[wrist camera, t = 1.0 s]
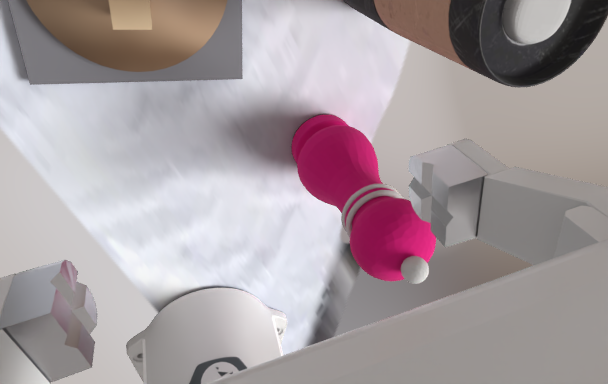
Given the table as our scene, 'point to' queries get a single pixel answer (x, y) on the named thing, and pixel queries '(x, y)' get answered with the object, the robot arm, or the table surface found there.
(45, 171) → the table surface
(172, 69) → the mat
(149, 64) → the lid
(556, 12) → the travel mug
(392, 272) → the pepper mill
